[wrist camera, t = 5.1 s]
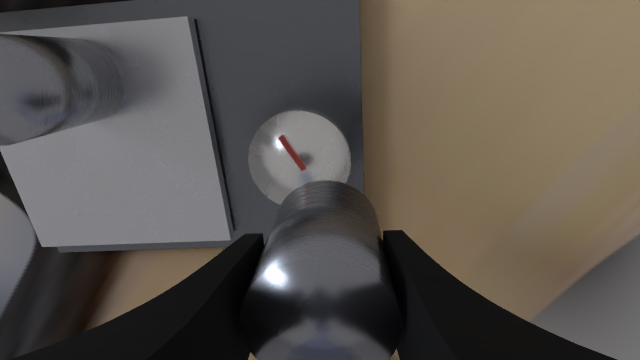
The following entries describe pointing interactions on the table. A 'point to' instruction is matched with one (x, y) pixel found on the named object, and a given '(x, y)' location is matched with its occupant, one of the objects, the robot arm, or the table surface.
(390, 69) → the table surface
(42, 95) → the cylinder
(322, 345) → the cylinder
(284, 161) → the scale base
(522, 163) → the table surface
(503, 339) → the robot arm
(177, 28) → the pan
